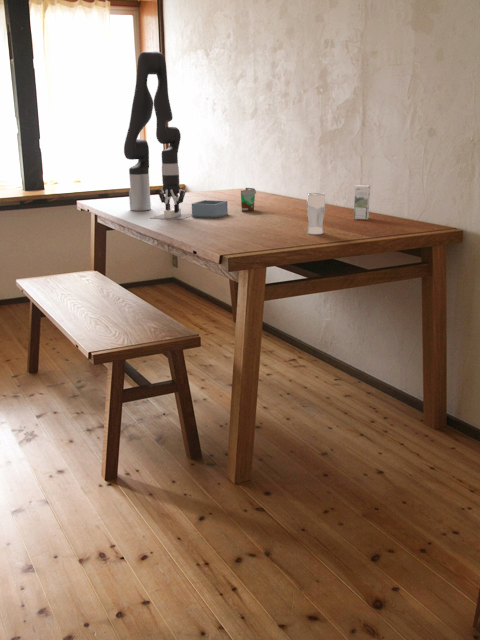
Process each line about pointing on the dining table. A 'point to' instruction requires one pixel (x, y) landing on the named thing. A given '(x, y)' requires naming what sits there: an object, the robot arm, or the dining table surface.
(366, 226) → the dining table surface
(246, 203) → the food container
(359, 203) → the syrup box
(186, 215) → the lid
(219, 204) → the dish
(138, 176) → the robot arm
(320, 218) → the beer glass
